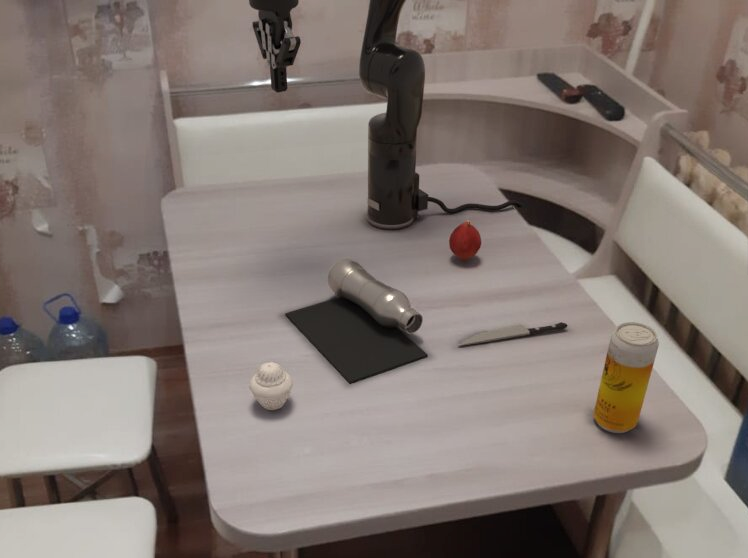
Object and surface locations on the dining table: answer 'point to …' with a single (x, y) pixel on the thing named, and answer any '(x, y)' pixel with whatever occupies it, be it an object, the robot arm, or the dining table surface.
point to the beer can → (625, 376)
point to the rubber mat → (354, 339)
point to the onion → (465, 241)
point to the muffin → (271, 386)
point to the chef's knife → (510, 333)
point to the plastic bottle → (373, 296)
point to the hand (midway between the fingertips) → (279, 90)
